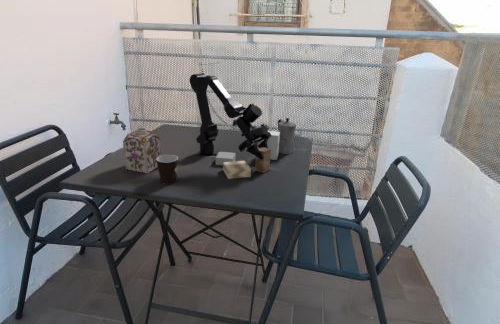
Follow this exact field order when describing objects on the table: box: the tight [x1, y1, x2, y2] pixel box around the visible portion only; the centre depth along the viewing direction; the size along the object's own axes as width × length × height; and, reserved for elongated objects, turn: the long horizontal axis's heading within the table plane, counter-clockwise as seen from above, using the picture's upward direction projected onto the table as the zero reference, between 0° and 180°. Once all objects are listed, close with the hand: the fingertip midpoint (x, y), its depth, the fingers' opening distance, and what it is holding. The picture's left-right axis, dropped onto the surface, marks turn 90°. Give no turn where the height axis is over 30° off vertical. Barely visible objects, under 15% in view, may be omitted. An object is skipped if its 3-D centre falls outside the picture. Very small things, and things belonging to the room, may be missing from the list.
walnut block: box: [254, 147, 271, 174], centre depth 150 cm, size 4×5×10 cm
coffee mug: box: [156, 154, 179, 185], centre depth 138 cm, size 12×9×10 cm
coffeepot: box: [277, 117, 297, 155], centre depth 174 cm, size 15×9×18 cm, turn 26°
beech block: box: [222, 160, 252, 180], centre depth 148 cm, size 10×10×4 cm
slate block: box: [215, 151, 237, 166], centre depth 159 cm, size 8×8×4 cm
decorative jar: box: [122, 127, 163, 174], centre depth 148 cm, size 12×12×18 cm
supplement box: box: [267, 130, 280, 161], centre depth 166 cm, size 7×7×13 cm
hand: (265, 157), depth 149 cm, fingers closed on walnut block, 5 cm apart
